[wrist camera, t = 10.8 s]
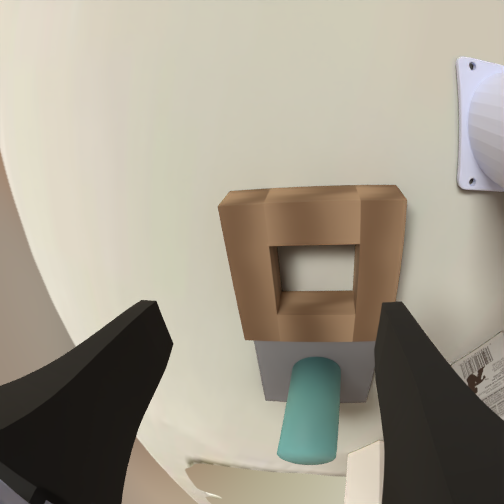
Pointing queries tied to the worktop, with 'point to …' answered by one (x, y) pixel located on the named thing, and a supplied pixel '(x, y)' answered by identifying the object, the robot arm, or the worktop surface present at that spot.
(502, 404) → the coffee box
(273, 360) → the mat
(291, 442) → the plug
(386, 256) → the socket block
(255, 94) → the worktop surface
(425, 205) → the worktop surface
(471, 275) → the worktop surface
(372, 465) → the milk
